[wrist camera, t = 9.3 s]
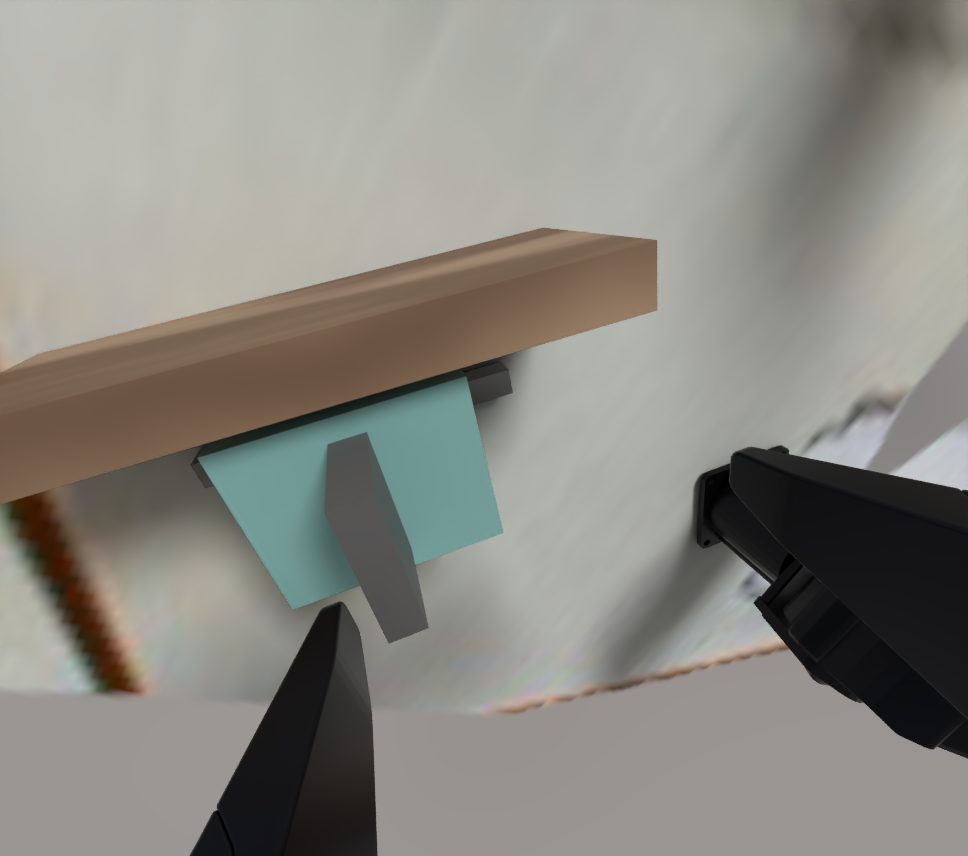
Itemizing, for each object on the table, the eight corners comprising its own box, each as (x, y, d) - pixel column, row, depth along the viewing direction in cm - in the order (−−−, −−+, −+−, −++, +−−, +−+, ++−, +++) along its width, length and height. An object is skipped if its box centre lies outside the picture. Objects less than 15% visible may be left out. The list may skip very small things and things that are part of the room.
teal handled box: (460, 447, 23) (538, 603, 14) (305, 498, 22) (281, 705, 13) (427, 324, 20) (502, 424, 11) (243, 375, 18) (151, 538, 9)
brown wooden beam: (559, 367, 22) (656, 438, 16) (140, 495, 19) (32, 655, 12) (543, 227, 19) (657, 240, 12) (37, 354, 16) (-187, 465, 9)
